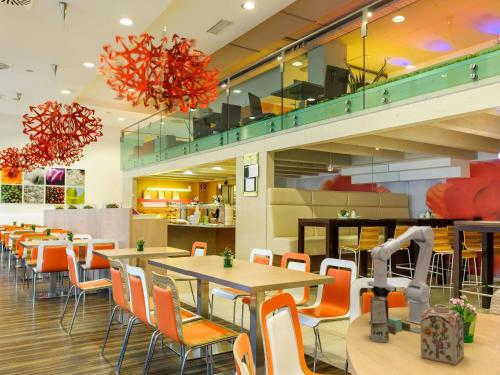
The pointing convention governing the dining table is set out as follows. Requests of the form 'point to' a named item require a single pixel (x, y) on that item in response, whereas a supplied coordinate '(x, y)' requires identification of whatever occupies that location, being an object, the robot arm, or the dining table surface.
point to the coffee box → (379, 319)
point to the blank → (395, 323)
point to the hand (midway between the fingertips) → (380, 304)
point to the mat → (415, 330)
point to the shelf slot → (404, 327)
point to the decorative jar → (442, 335)
